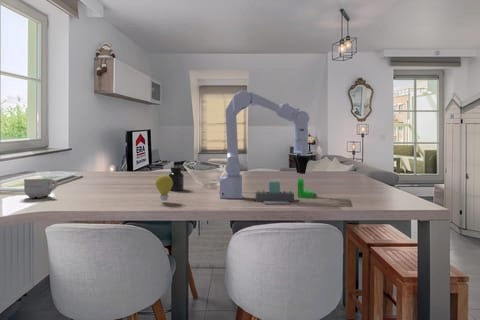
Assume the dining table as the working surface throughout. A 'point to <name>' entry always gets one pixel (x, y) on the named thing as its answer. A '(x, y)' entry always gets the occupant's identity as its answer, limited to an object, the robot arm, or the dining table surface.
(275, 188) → the plug
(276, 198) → the box
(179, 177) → the supplement bottle
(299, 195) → the mechanical part
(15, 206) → the dining table surface
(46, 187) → the teacup
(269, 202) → the pad
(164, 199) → the light bulb
